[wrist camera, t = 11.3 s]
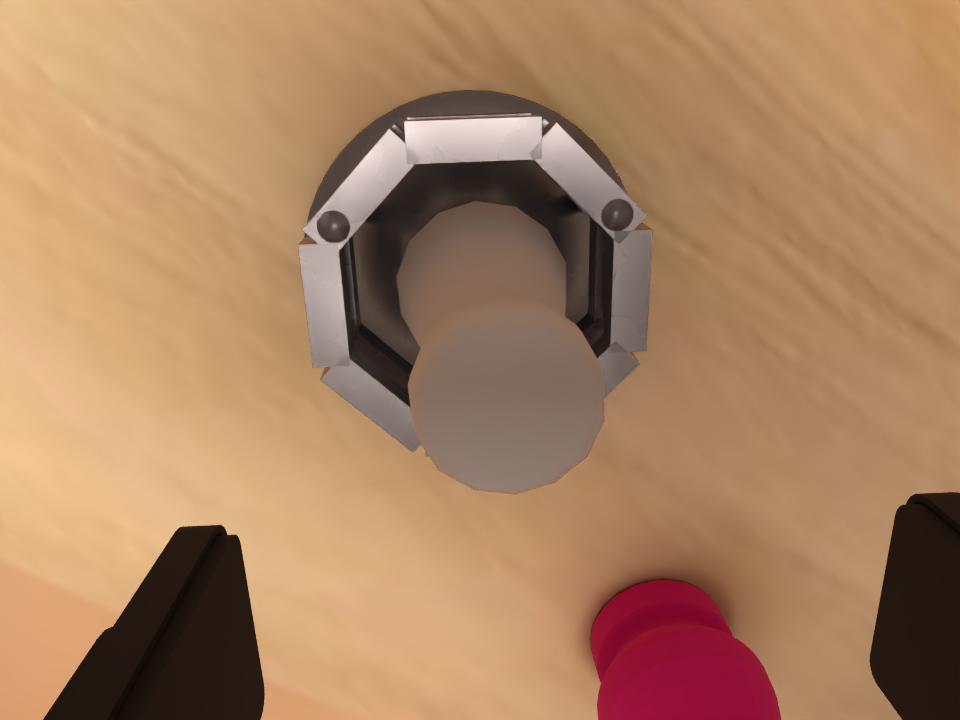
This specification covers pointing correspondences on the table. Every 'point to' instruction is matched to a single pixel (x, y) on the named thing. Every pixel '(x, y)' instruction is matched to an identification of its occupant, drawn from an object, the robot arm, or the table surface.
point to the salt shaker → (496, 351)
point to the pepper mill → (675, 659)
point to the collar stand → (448, 184)
